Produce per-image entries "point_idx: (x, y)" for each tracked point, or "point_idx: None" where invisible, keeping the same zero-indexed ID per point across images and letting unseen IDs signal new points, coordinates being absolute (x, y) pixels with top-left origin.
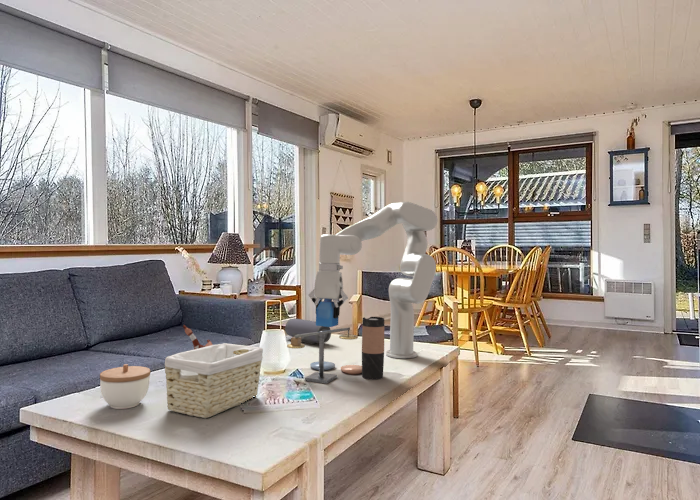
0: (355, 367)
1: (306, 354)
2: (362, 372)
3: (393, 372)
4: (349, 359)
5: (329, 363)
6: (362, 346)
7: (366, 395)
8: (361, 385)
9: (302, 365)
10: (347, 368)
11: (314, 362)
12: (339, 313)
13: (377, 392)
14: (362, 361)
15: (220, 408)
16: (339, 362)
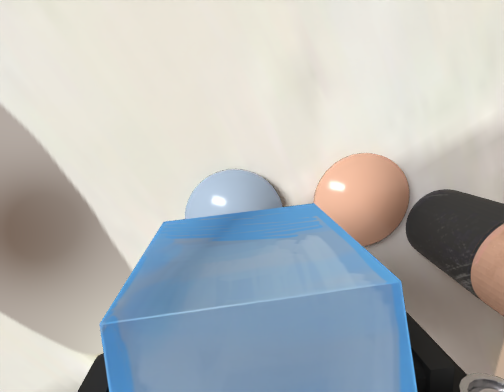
0: (366, 191)
1: (16, 39)
2: (421, 253)
3: (493, 130)
4: (257, 19)
5: (250, 192)
6: (501, 313)
7: (469, 372)
8: (434, 315)
9: (149, 227)
10: (346, 219)
11: (189, 211)
12: (412, 318)
13: (489, 341)
14: (449, 275)
15: None
16: (247, 101)
